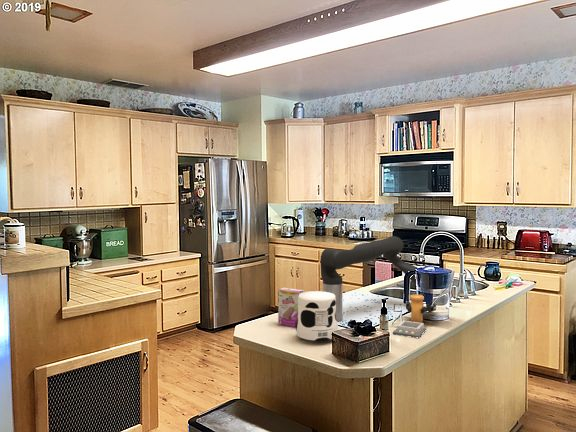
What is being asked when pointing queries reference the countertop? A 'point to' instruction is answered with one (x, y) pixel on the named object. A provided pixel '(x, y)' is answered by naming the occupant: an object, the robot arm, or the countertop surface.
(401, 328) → the breaker panel
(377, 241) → the robot arm
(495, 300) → the countertop surface
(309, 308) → the milk container
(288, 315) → the candy bar box
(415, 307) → the orange flared cylinder
